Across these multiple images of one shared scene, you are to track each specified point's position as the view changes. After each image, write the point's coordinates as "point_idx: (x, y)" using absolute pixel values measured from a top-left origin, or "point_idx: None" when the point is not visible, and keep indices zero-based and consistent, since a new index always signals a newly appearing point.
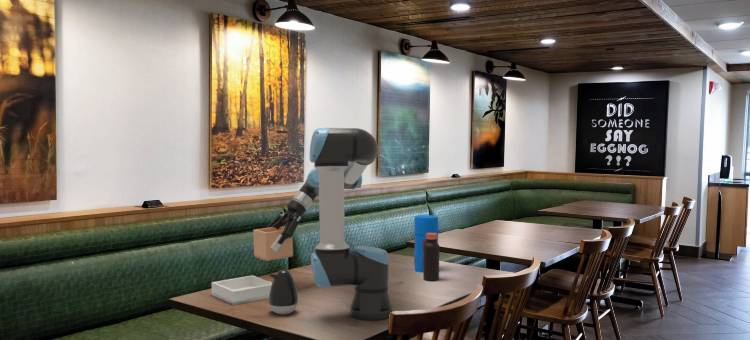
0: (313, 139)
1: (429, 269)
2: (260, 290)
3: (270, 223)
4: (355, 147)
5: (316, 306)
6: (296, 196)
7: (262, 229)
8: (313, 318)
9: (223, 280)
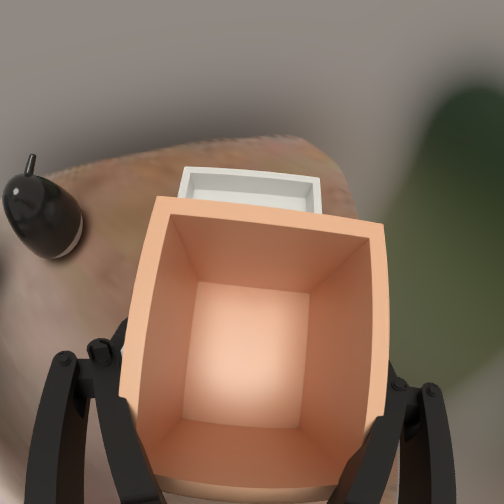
0: None
1: None
2: None
3: (447, 432)
4: None
5: (41, 316)
6: None
7: (370, 304)
8: (12, 253)
9: (320, 209)
